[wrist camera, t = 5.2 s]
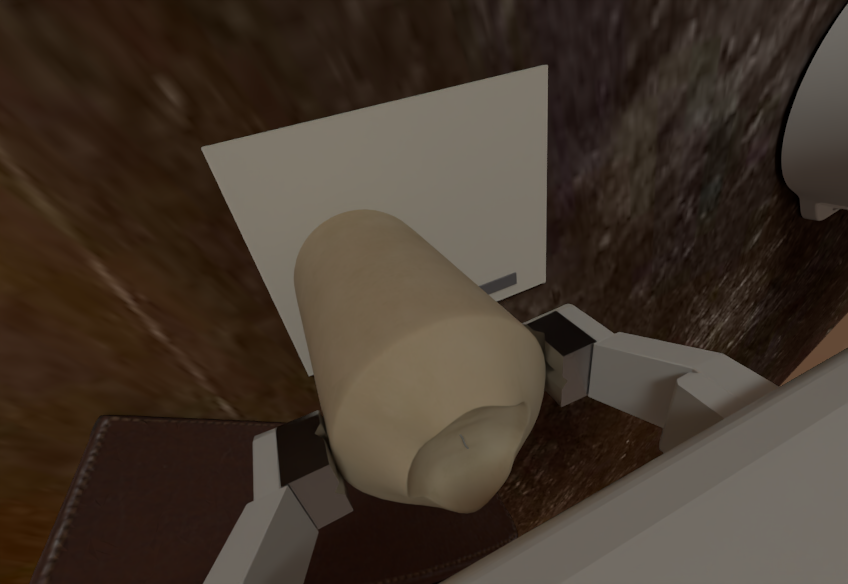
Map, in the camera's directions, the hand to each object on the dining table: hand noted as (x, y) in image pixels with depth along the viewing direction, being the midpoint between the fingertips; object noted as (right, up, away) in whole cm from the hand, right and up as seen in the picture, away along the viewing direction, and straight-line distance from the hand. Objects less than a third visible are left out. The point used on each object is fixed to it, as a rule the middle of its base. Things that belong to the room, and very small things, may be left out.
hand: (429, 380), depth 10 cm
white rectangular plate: (0, +5, +8) cm, 9 cm away
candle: (-3, +3, +6) cm, 8 cm away
